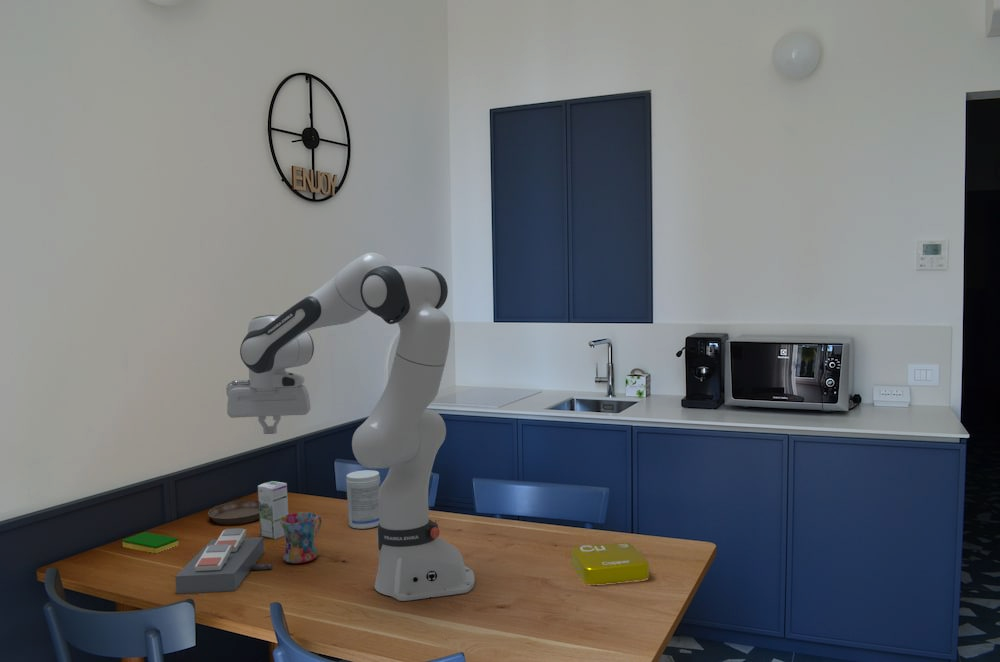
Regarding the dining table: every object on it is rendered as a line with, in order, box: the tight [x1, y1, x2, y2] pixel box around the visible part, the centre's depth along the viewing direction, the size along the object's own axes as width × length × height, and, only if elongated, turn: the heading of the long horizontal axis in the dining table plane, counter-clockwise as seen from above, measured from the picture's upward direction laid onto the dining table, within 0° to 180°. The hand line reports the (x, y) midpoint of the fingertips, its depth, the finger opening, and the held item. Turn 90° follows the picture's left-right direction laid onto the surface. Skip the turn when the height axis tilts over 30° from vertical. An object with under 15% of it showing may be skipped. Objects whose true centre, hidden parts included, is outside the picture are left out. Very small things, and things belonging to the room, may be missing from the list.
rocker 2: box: [215, 527, 247, 552], centre depth 188 cm, size 6×9×2 cm, turn 3°
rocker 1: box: [195, 544, 232, 571], centre depth 176 cm, size 6×9×2 cm, turn 3°
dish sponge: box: [122, 531, 179, 554], centre depth 203 cm, size 7×14×2 cm, turn 62°
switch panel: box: [175, 536, 273, 595], centre depth 182 cm, size 18×25×4 cm
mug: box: [280, 511, 323, 564], centre depth 190 cm, size 12×9×11 cm
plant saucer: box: [207, 499, 260, 526], centre depth 226 cm, size 18×18×3 cm
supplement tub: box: [345, 469, 382, 530], centre depth 215 cm, size 10×10×15 cm
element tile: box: [571, 542, 650, 585], centre depth 174 cm, size 15×15×5 cm
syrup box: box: [257, 480, 289, 540], centre depth 208 cm, size 6×6×14 cm
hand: (270, 433), depth 192 cm, fingers closed
